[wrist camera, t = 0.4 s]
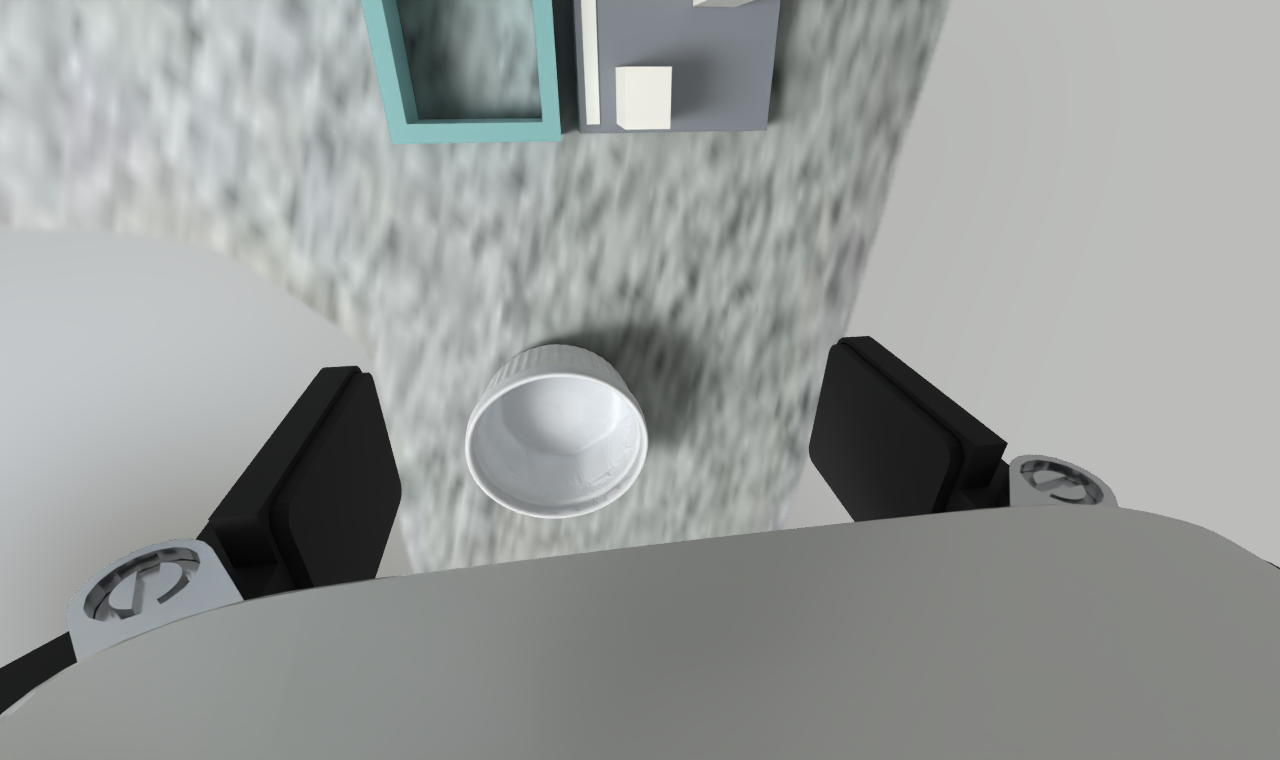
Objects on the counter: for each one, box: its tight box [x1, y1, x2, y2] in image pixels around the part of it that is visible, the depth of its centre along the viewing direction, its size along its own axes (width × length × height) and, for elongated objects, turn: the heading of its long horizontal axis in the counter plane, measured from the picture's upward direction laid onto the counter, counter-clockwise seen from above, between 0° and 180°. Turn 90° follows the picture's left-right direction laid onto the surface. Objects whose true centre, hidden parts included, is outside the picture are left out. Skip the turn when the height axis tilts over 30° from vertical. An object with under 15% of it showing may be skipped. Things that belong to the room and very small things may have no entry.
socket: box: [361, 0, 561, 144], centre depth 30 cm, size 10×10×4 cm
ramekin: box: [465, 344, 648, 518], centre depth 41 cm, size 13×13×7 cm
